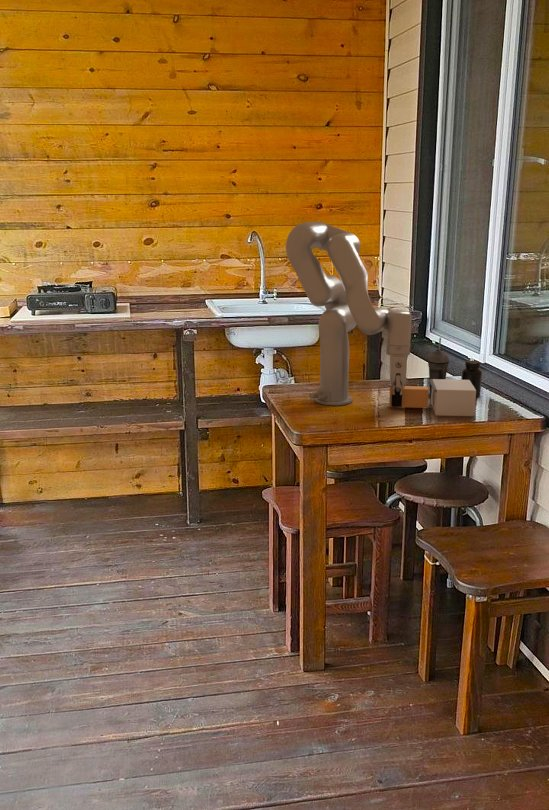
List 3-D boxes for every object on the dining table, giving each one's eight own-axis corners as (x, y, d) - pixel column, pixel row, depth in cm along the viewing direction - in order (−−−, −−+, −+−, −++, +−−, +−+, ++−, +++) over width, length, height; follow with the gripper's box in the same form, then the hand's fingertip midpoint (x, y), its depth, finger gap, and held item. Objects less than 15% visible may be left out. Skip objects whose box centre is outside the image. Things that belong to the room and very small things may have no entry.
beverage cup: (445, 391, 265) (449, 335, 259) (448, 396, 258) (452, 339, 252) (424, 391, 265) (428, 335, 260) (426, 396, 258) (430, 338, 253)
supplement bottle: (461, 398, 256) (463, 363, 253) (458, 392, 263) (461, 359, 259) (481, 398, 255) (484, 364, 252) (479, 393, 262) (481, 359, 259)
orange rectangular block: (427, 407, 241) (428, 389, 239) (389, 406, 242) (390, 388, 240) (426, 404, 245) (427, 386, 243) (389, 403, 246) (389, 385, 244)
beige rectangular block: (474, 416, 235) (476, 390, 233) (432, 415, 236) (434, 389, 234) (467, 404, 248) (469, 379, 246) (428, 403, 250) (429, 379, 247)
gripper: (412, 355, 230) (409, 411, 235) (408, 344, 247) (405, 397, 252) (387, 354, 231) (385, 410, 236) (385, 344, 247) (383, 396, 252)
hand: (395, 403), depth 244 cm, fingers open, 6 cm apart
